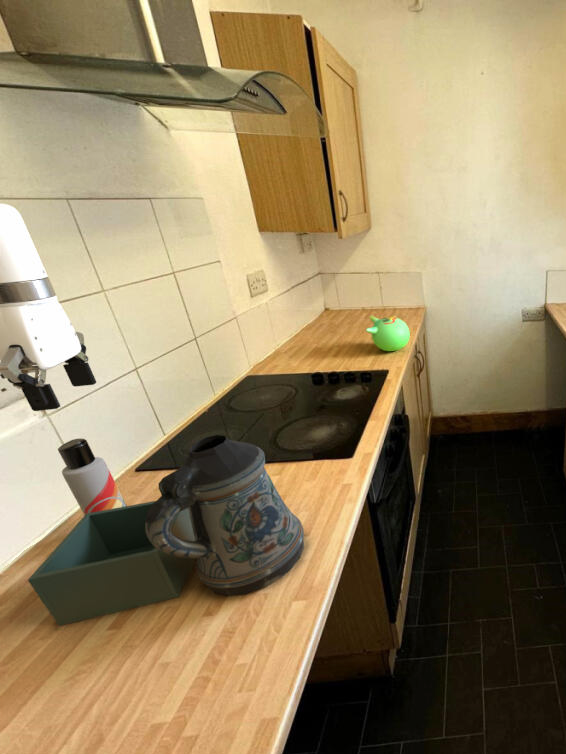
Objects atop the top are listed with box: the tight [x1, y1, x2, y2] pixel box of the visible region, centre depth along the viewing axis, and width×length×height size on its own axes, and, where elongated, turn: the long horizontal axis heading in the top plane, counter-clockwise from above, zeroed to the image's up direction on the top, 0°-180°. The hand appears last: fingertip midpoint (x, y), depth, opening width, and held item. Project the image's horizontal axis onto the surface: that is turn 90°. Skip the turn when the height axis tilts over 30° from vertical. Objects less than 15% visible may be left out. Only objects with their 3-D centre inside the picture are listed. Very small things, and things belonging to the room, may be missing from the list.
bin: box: [27, 500, 197, 627], centre depth 70 cm, size 16×15×10 cm
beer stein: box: [145, 434, 305, 597], centre depth 68 cm, size 16×19×25 cm
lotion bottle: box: [57, 438, 127, 516], centre depth 78 cm, size 6×6×20 cm
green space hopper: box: [365, 315, 411, 352], centre depth 177 cm, size 18×17×15 cm
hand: (67, 396), depth 69 cm, fingers open, 9 cm apart
